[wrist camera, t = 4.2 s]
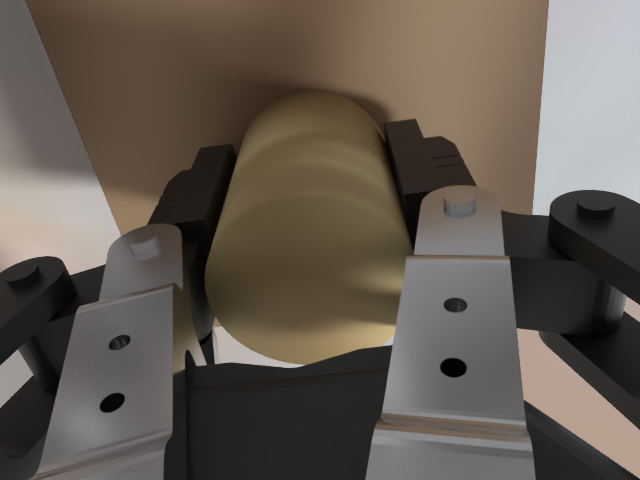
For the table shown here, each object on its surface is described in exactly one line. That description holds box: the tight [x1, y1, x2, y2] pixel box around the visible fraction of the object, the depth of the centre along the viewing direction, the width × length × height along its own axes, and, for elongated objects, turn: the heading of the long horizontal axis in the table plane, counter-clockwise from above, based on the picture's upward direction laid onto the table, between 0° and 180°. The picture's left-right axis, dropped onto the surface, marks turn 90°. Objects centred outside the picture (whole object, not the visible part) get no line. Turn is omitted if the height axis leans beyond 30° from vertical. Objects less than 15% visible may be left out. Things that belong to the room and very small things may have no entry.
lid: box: [25, 0, 549, 365], centre depth 12 cm, size 11×10×7 cm
